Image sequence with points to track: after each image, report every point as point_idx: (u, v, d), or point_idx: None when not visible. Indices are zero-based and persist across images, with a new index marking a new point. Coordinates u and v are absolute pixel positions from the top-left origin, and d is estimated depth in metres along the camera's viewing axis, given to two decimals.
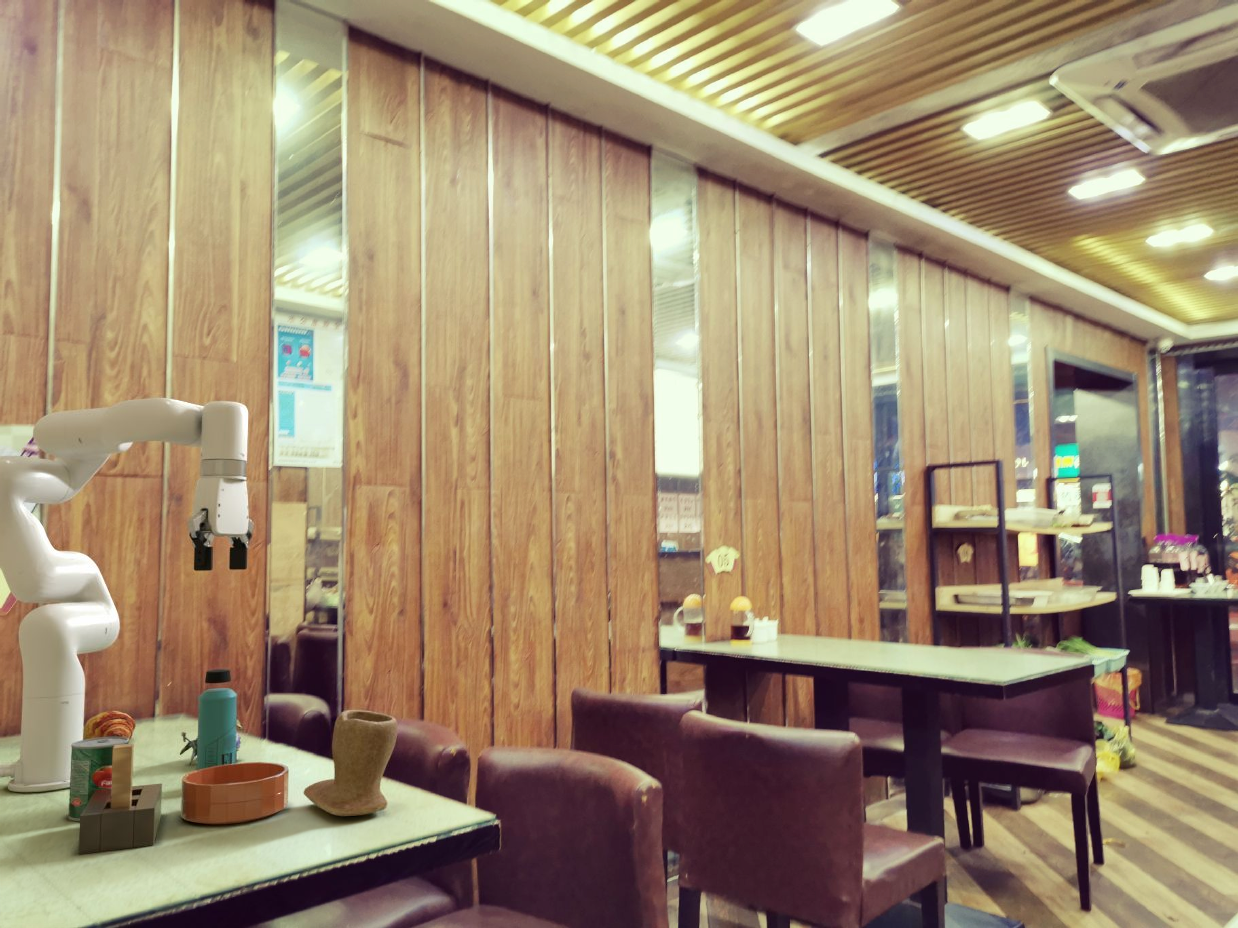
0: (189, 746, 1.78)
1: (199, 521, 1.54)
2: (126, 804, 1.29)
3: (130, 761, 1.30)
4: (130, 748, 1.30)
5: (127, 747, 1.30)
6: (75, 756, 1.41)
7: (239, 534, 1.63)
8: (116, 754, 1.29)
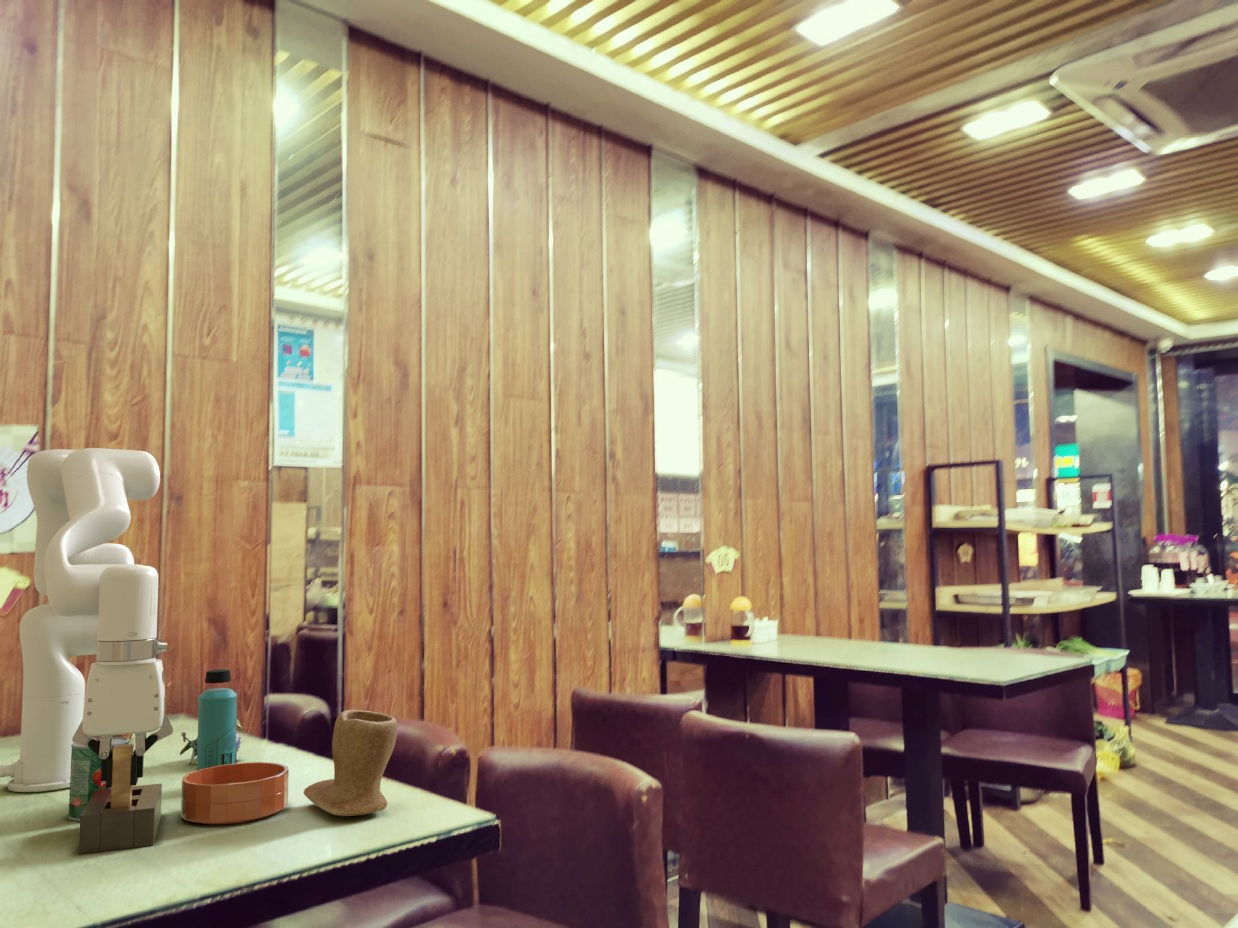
0: (189, 746, 1.78)
1: (82, 732, 1.29)
2: (126, 804, 1.29)
3: (130, 761, 1.30)
4: (130, 748, 1.30)
5: (127, 747, 1.30)
6: (75, 756, 1.41)
7: (140, 731, 1.30)
8: (116, 754, 1.29)
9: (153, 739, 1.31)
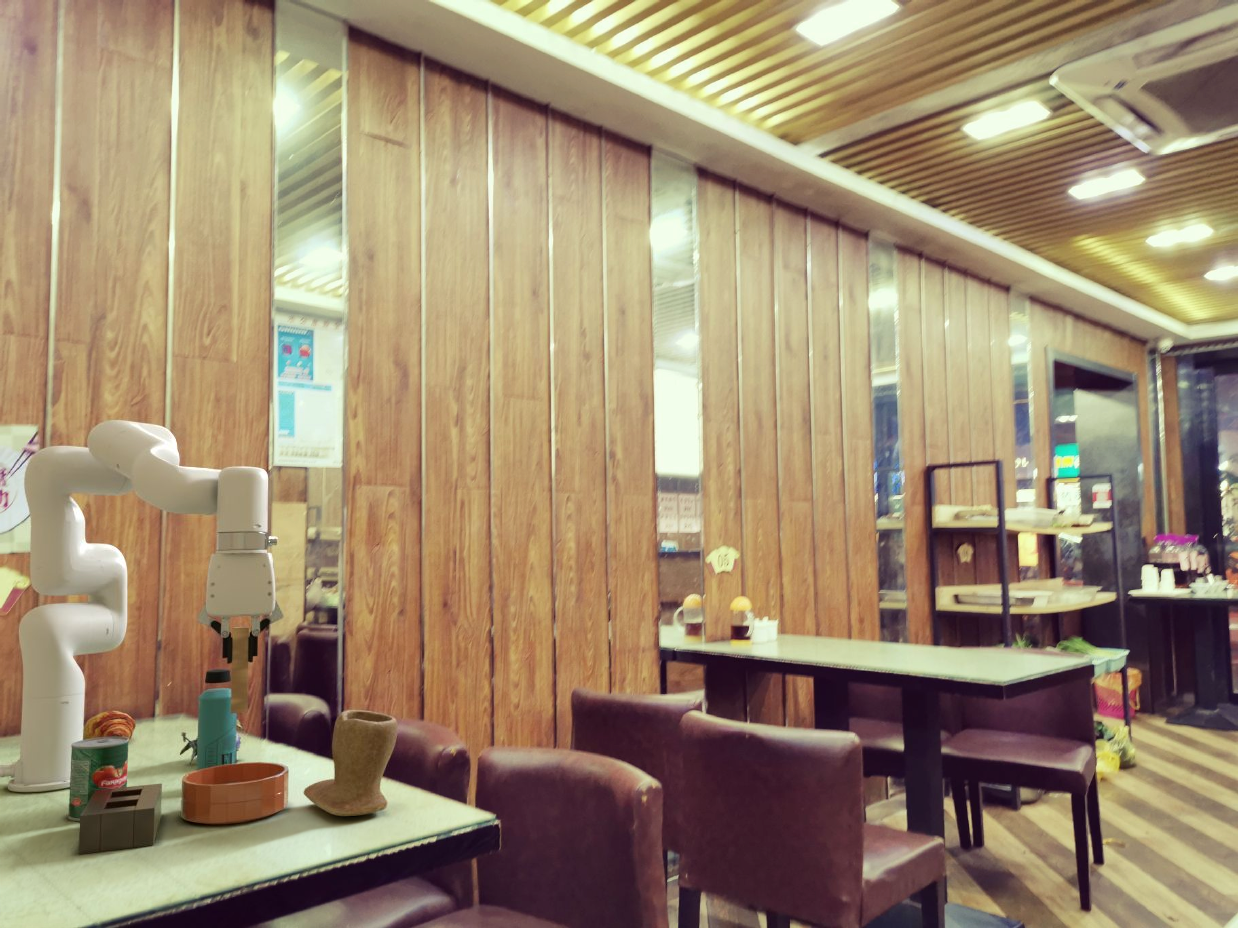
0: (189, 746, 1.78)
1: (206, 613, 1.43)
2: (245, 678, 1.44)
3: (247, 640, 1.45)
4: (247, 629, 1.45)
5: (244, 628, 1.45)
6: (75, 756, 1.41)
7: (256, 614, 1.45)
8: (235, 634, 1.44)
9: (266, 622, 1.46)
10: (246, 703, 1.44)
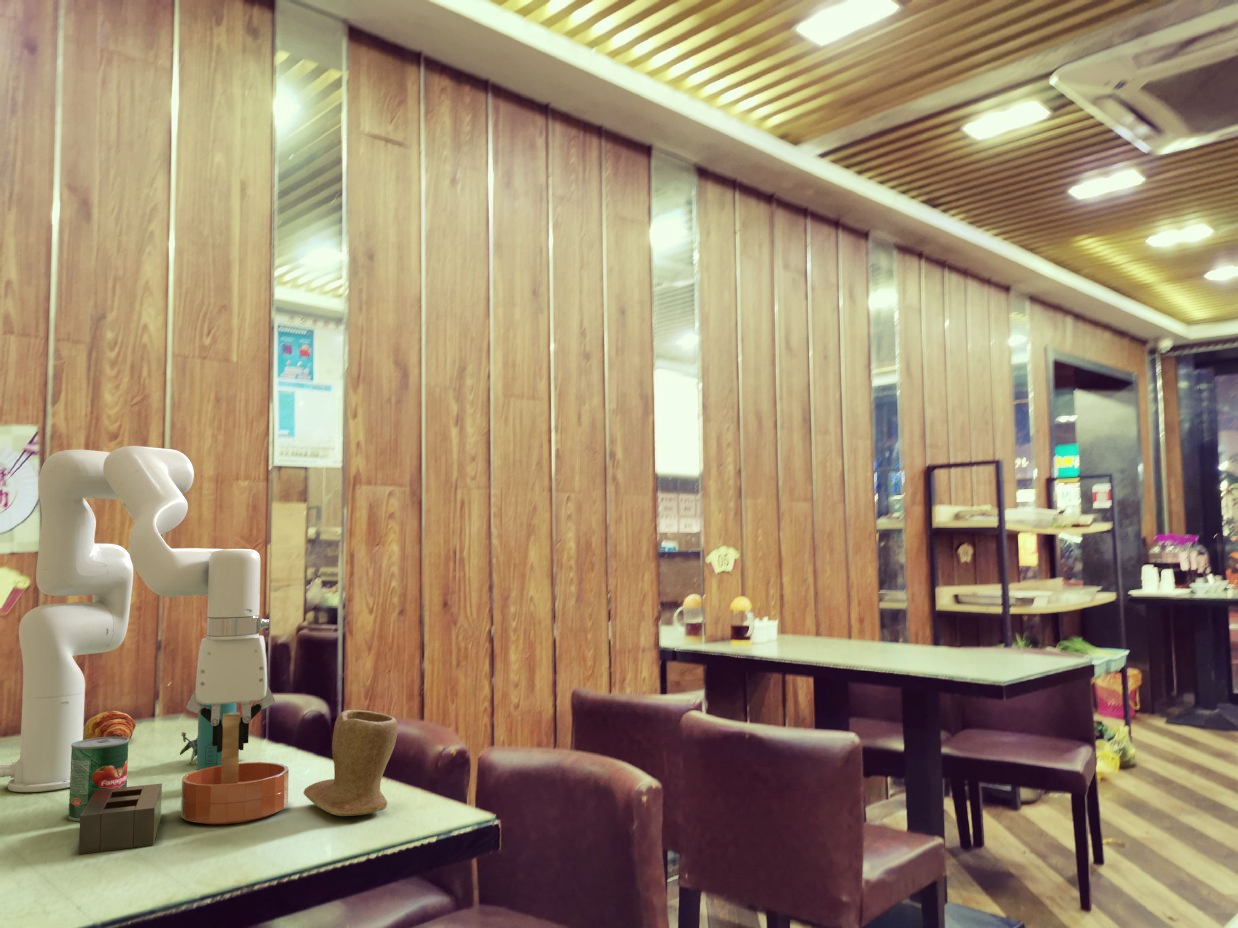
0: (189, 746, 1.78)
1: (195, 701, 1.40)
2: (235, 767, 1.41)
3: (238, 728, 1.42)
4: (238, 716, 1.42)
5: (235, 715, 1.42)
6: (75, 756, 1.41)
7: (247, 700, 1.42)
8: (225, 721, 1.41)
9: (258, 708, 1.43)
10: None
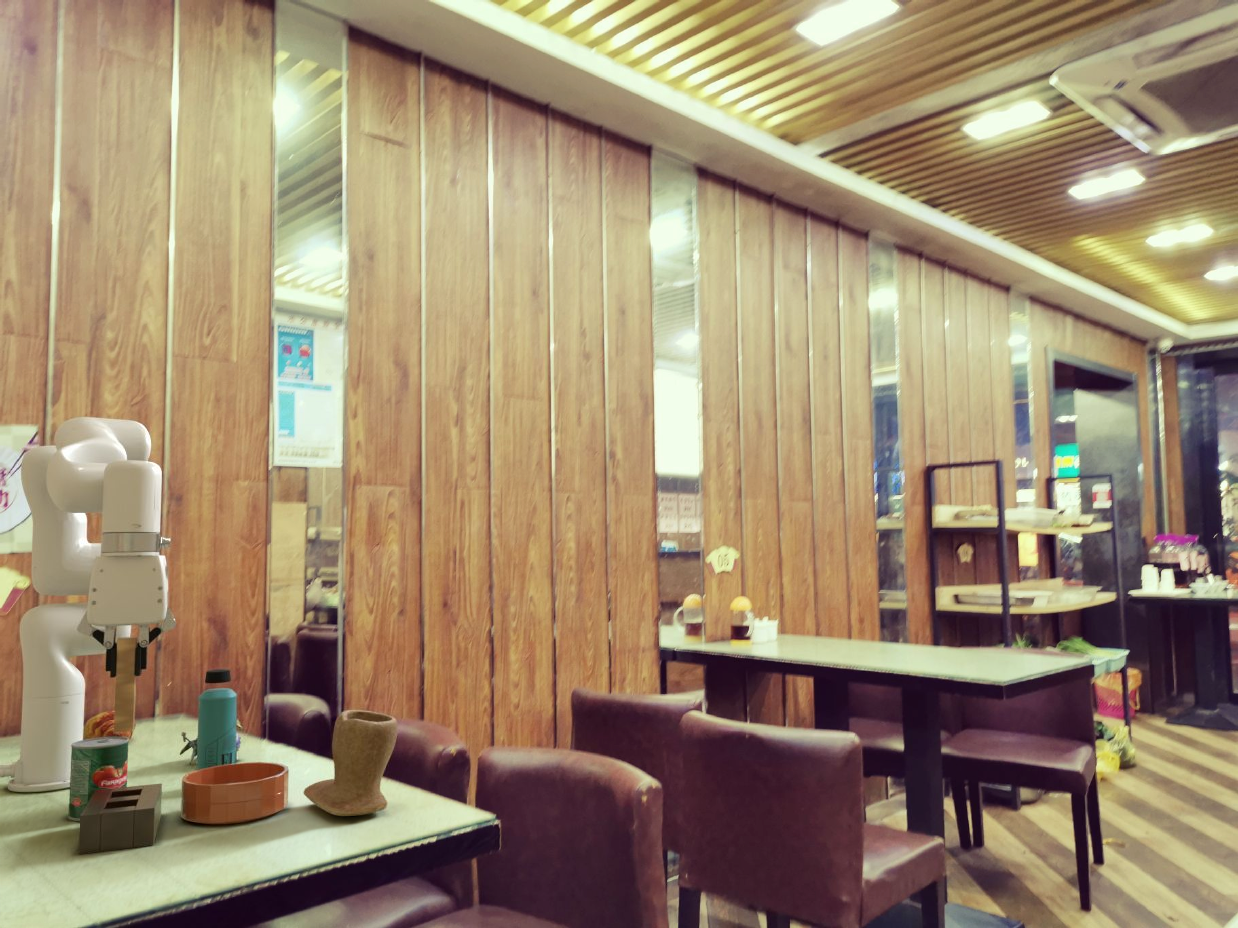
0: (189, 746, 1.78)
1: (87, 622, 1.30)
2: (130, 694, 1.31)
3: (134, 652, 1.31)
4: (134, 639, 1.31)
5: (131, 638, 1.31)
6: (75, 756, 1.41)
7: (144, 622, 1.32)
8: (120, 645, 1.31)
9: (157, 631, 1.33)
10: (131, 721, 1.30)
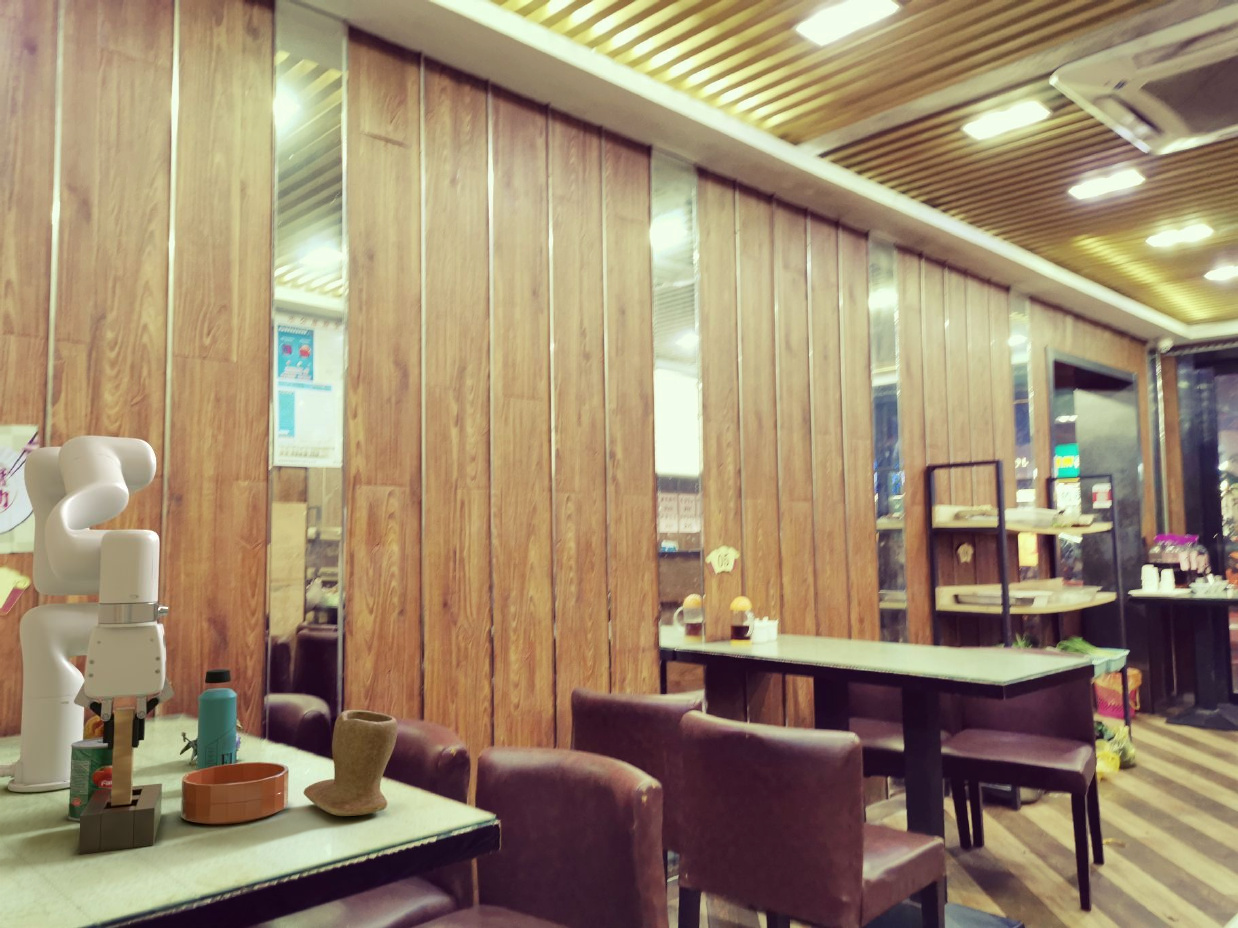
0: (189, 746, 1.78)
1: (84, 694, 1.29)
2: (128, 766, 1.30)
3: (132, 724, 1.30)
4: (132, 711, 1.30)
5: (129, 710, 1.30)
6: (75, 756, 1.41)
7: (142, 693, 1.31)
8: (117, 716, 1.30)
9: (154, 702, 1.32)
10: (129, 794, 1.29)
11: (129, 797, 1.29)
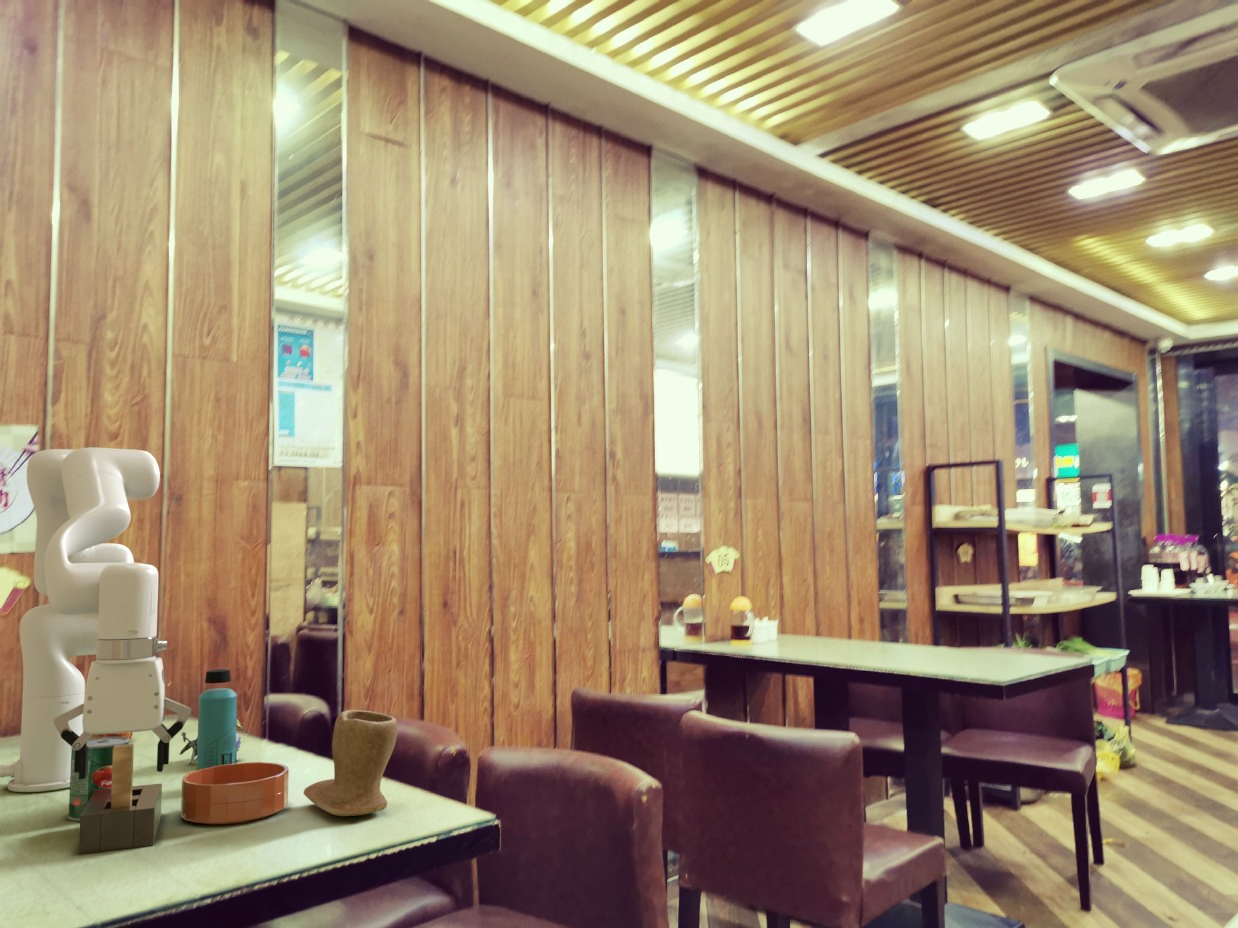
0: (189, 746, 1.78)
1: (66, 719, 1.28)
2: (126, 804, 1.29)
3: (130, 761, 1.30)
4: (130, 748, 1.30)
5: (127, 747, 1.30)
6: None
7: (140, 729, 1.30)
8: (116, 754, 1.29)
9: (179, 726, 1.33)
10: None
11: None
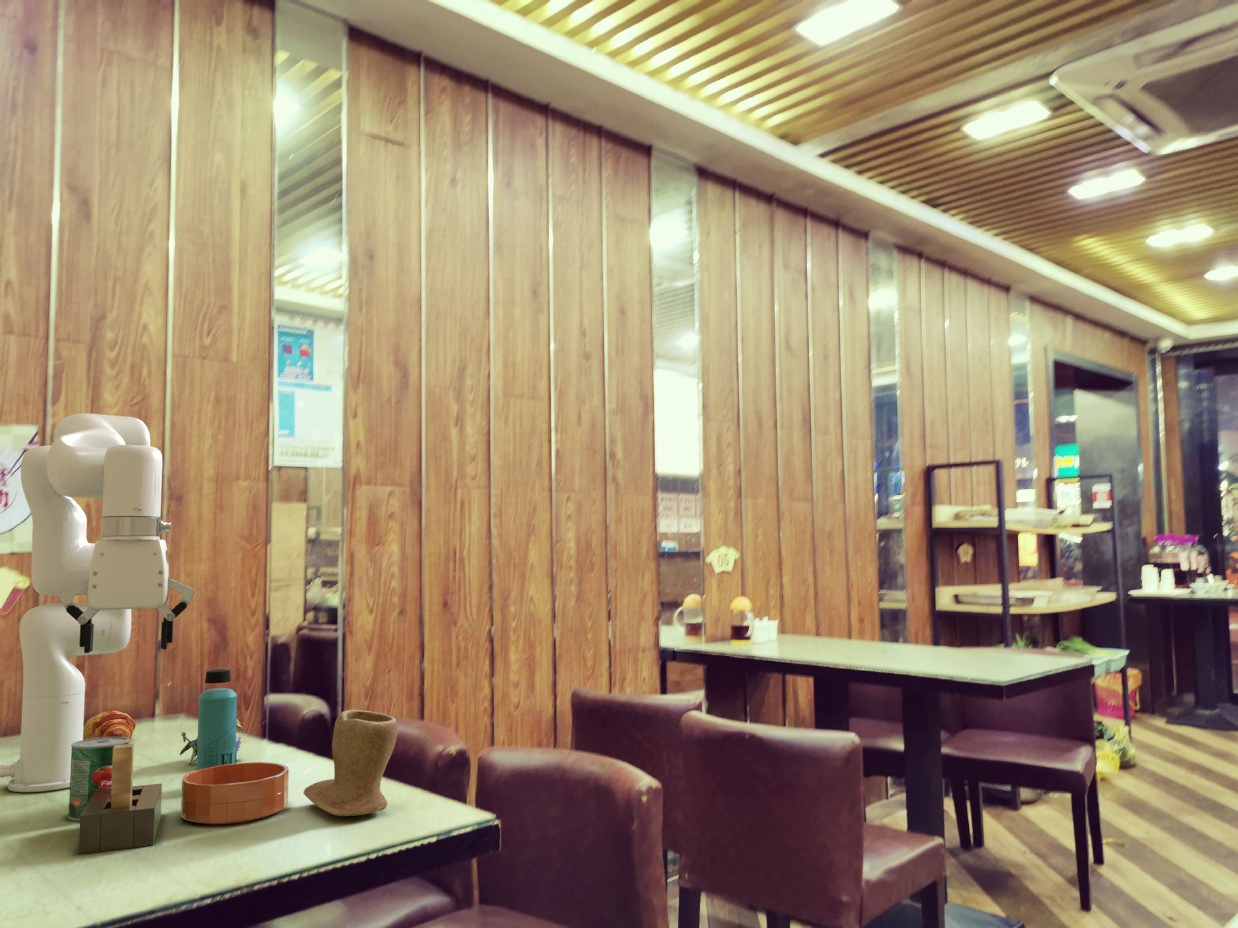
0: (189, 746, 1.78)
1: (72, 594, 1.30)
2: (126, 804, 1.29)
3: (130, 761, 1.30)
4: (130, 748, 1.30)
5: (127, 747, 1.30)
6: (75, 756, 1.41)
7: (145, 606, 1.32)
8: (116, 754, 1.29)
9: (183, 606, 1.35)
10: None
11: None
